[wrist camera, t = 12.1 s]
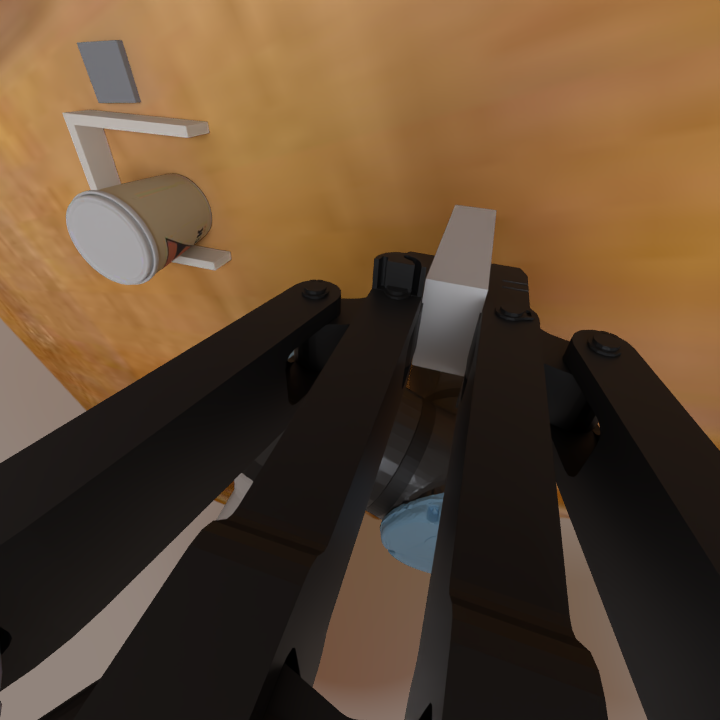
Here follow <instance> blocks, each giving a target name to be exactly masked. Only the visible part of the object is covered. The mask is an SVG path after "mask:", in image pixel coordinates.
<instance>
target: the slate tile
mask: <svg viewBox="0 0 720 720" xmlns="http://www.w3.org/2000/svg"><path fill="white" fill-rule="evenodd" d="M77 45H78V48H79V50H80V53H81V56H82V58H83V61H84V64H85V67H86V69H87V72H88V75H89V77H90V80H91V83H92V86H93V88H94V91H95V94H96V97H97V99H98V102H99V103H137V102H141V100H140V97H139V94H138V91H137V87H136V84H135V81H134V78H133V74H132V71H131V68H130V65H129V61H128V58H127V55H126V52H125V48H124V45H123V42H122V40H112V41H96V42H81V43H77Z"/></svg>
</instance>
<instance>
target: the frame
mask: <svg viewBox="0 0 720 720" xmlns="http://www.w3.org/2000/svg"><path fill="white" fill-rule="evenodd" d="M63 116H64V118H65V121H66V124H67V127H68V129H69V132H70V135H71V137H72V140H73V143H74V146H75V148H76V151H77V154H78V156H79V159H80V162H81V164H82V167H83V170H84V173H85V175H86V178H87V181H88V183H89V186H90V189H91V190H99V189H103V188H107V187H111V186H116V185H120V184H121V182H120V179H119V176H118V173H117V170H116V167H115V164H114V160H113V157H112V154H111V151H110V148H109V145H108V142H107V139H106V136H105V132H104V129H103V128H106V129H115V130H124V131H133V132H142V133H150V134H159V135H168V136H177V137H186V138H190V137H194V136H198V135H203V134H207V133H209V127H208V122H205V121H195V120H185V119H175V118H165V117H156V116H146V115H136V114H126V113H117V112H107V111H97V110H84V111H75V112H66V113H63ZM230 260H231V254H230V252H229V251H223V250H217V249H212V248H206V247H201V246H195V245H193V246H191V247H190V248H189V249H188V250H186V251H185V252H184V253H182V254H181V255H180V256H178V257H177V258H176V259H175V260H173V261H172V262H174V263H179V264H185V265H190V266H195V267H200V268H205V269H210V270H217V269H218V268H220V267H221V266H223V265H224V264H225V263H227V262H228V261H230Z"/></svg>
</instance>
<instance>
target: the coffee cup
mask: <svg viewBox="0 0 720 720" xmlns="http://www.w3.org/2000/svg"><path fill="white" fill-rule="evenodd" d="M66 223H67V228H68V231H69V234H70V237H71V239H72V241H73V243H74V245H75V247H76V248H77V250H78V251H79V253H80V254H81V255H82V257H83V258H84V259H85V260H86V261H87V262H88V263H89V264H90V265H91V266H92V267H93V268H94V269H95V270H96V271H98V272H99V273H100V274H102V275H103V276H105V277H106V278H108V279H110V280H112V281H114V282H117V283H121V284H126V285H132V284H135V285H136V284H142V283H145V282H147V281H148V280H150V279H151V278H152V277H153V276H154V275H155V274H156V273H157V272H158V271H160V270H161V269H163V268H164V267H165V266H167V265H168V264H169V263H171V262H172V261H173V260H175V259H176V258H177V257H178V256H180V255H181V254H182V253H184V252H185V251H186V250H188V249H189V248H190V247H191V246H193V245H194V244H195V243H197V242H198V241H199V240H200V239H202V238H203V237H204V236H205V235H206V234H207V233H208V231H209V229H210V227H211V223H212V214H211V209H210V206H209V203H208V201H207V199H206V197H205V196H204V194H203V193H202V191H201V190H200V189H199V188H198V186H196V185H195V184H194V183H193V182H192V181H191V180H189V179H187V178H186V177H184V176H181V175H178V174H165V175H160V176H155V177H151V178H146V179H142V180H137V181H133V182H128V183H124V184H120V185H116V186H111V187H107V188H103V189H99V190H89V191H85V192H82V193H80V194H78V195H77V196H75V198H74V199H73V200H72V202H71V203H70V205H69V206H68V209H67V213H66Z"/></svg>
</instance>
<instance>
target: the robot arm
mask: <svg viewBox="0 0 720 720" xmlns="http://www.w3.org/2000/svg"><path fill="white" fill-rule="evenodd" d="M495 219H496V210H490V209H483V208H475V207H468V206H460V205H455V207H454V210H453V212H452V215H451V217H450V220H449V222H448V225H447V227H446V230H445V232H444V235H443V237H442V240H441V242H440V245H439V247H438V250H437V252H436V255H435V256H434V255H428V254H422V253H415V252H408V253H400V252H391V253H384V254H381V255H378V256H377V257H376V258H374V271H373V285H372V290H371V291H370V293H369V294H368V296H367V297H366V298H360V299H341V290H340V289H339V287H338V286H337V285H335V284H332V283H330V282H326V281H323V280H310V281H305V282H301V283H299V284H296V285H294V286H293V287H291V288H289V289H288V290H286V291H284V292H283V293H281V294H279V295H278V296H276V297H274V298H273V299H271V300H269V301H268V302H266V303H264V304H263V305H261V306H260V307H258V308H256V309H255V310H253V311H251V312H250V313H248V314H246V315H245V316H243V317H241V318H240V319H238V320H236V321H235V322H233V323H231V324H230V325H228V326H226V327H225V328H223V329H222V330H220V331H218V332H217V333H215V334H213V335H212V336H210V337H208V338H207V339H205V340H203V341H202V342H200V343H198V344H197V345H195V346H193V347H192V348H190V349H188V350H187V351H185V352H183V353H182V354H180V355H179V356H177V357H175V358H174V359H172V360H170V361H169V362H167V363H165V364H164V365H162V366H160V367H159V368H157V369H155V370H154V371H152V372H150V373H149V374H147V375H145V376H144V377H142V378H141V379H139V380H137V381H136V382H134V383H132V384H131V385H129V386H127V387H126V388H124V389H122V390H121V391H119V392H117V393H116V394H114V395H112V396H111V397H109V398H107V399H106V400H104V401H102V402H101V403H99V404H98V405H96V406H94V407H93V408H91V409H89V410H88V411H86V412H84V413H83V414H81V415H79V416H78V417H76V418H74V419H73V420H71V421H69V422H68V423H66V424H64V425H63V426H61V427H60V428H58V429H56V430H55V431H53V432H52V433H50V434H48V435H46V436H45V437H43V438H41V439H40V440H38V441H36V442H35V443H33V444H32V445H30V446H28V447H27V448H25V449H23V450H22V451H20V452H19V453H17V454H15V455H13V456H12V457H10V458H8V459H7V460H5V461H3V462H2V463H0V691H2V690H3V689H5V688H6V687H7V686H9V685H10V684H12V683H13V682H15V681H16V680H18V679H19V678H20V677H22V676H23V675H25V674H26V673H28V672H29V671H31V670H32V669H33V668H35V667H36V666H37V665H39V664H40V663H41V662H42V661H44V660H45V659H46V658H47V657H49V656H50V655H51V654H52V653H54V652H55V651H56V650H57V649H59V648H60V647H61V646H62V645H64V644H65V643H66V642H67V641H69V640H70V639H71V638H72V637H73V636H75V635H76V634H77V633H78V632H79V631H80V630H81V629H82V628H83V627H84V626H85V625H86V624H87V623H89V622H90V621H91V620H92V619H93V618H94V617H95V616H96V615H97V614H98V613H100V612H101V611H102V610H103V609H104V608H105V607H106V606H107V605H108V604H109V603H110V602H111V601H112V600H113V599H114V598H115V597H116V596H117V595H118V594H119V593H120V592H121V591H122V590H123V589H124V588H125V587H126V586H127V585H128V584H129V583H130V582H131V581H132V580H133V579H134V578H135V577H136V576H137V575H138V574H139V573H140V572H141V571H142V570H143V569H144V568H145V567H146V566H147V565H148V564H149V563H151V561H153V560H154V558H156V556H158V555H159V553H161V552H162V551H163V550H164V549H165V548H166V547H167V546H168V545H169V544H170V543H171V542H172V541H173V540H174V539H175V538H176V537H177V536H178V535H179V534H180V533H181V532H182V531H183V530H184V529H185V528H186V527H187V526H188V525H189V524H190V523H191V522H192V521H193V520H194V519H195V518H196V517H197V516H198V515H199V514H200V513H201V512H202V511H203V510H204V509H205V508H206V507H207V506H208V505H209V504H210V503H211V502H212V501H213V500H214V499H215V498H216V497H217V496H218V495H219V494H220V493H221V492H222V491H223V490H224V489H225V488H227V487H228V486H229V485H230V484H231V483H232V482H233V481H234V482H235V489H234V491H233V493H232V494H231V496H230V498H229V499H228V501H227V503H226V504H225V506H224V508H223V510H222V511H221V513H220V515H219V516H218V518H217V520H216V521H212V522H211V523H210V524H208V525H207V526H206V527H205V528H203V529H202V530H201V532H200V533H199V534H198V535H197V536H196V538H195V539H194V540H193V542H192V543H191V544H190V545H189V547H188V548H187V550H186V551H185V553H184V554H183V556H182V557H181V559H180V560H179V562H178V563H177V565H176V566H175V568H174V569H173V571H172V572H171V574H170V575H169V577H168V578H167V580H166V581H165V583H164V584H163V586H162V587H161V589H160V590H159V592H158V593H157V595H156V596H155V598H154V599H153V601H152V602H151V604H150V605H149V607H148V608H147V610H146V611H145V613H144V614H143V616H142V617H141V619H140V620H139V622H138V624H137V625H136V626H135V628H134V629H133V631H132V632H131V634H130V635H129V637H128V638H127V640H126V641H125V643H124V644H123V646H122V647H121V649H120V650H119V652H118V653H117V655H116V656H115V658H114V659H113V661H112V662H111V664H110V665H109V667H108V668H107V670H106V671H105V673H104V674H103V676H102V677H101V678H100V679H99V680H97V681H95V682H94V683H92V684H91V685H89V686H88V687H86V688H85V689H83V690H82V691H81V692H79V693H77V694H76V695H74V696H73V697H71V698H70V699H68V700H67V701H65V702H64V703H62V704H61V705H59V706H58V707H56V708H55V709H53V710H52V711H50V712H49V713H47V714H46V715H44V716H43V717H41V718H40V719H38V720H356V719H351V718H349V717H347V716H345V715H344V714H342V713H341V712H339V710H337V709H336V708H335V707H334V706H333V705H332V704H331V703H329V702H328V701H327V700H326V699H325V698H324V697H323V696H321V695H320V694H319V693H318V692H317V691H316V690H315V689H314V688H312V687H313V684H314V680H315V677H316V674H317V670H318V667H319V663H320V659H321V656H322V651H323V647H324V642H325V638H326V632H327V629H328V625H329V622H330V618H331V615H332V612H333V609H334V606H335V603H336V599H337V597H338V594H339V591H340V587H341V584H342V581H343V578H344V575H345V572H346V569H347V566H348V563H349V560H350V557H351V554H352V550H353V547H354V544H355V541H356V538H357V535H358V532H359V529H360V526H361V523H362V520H363V516H364V513H365V510H366V511H368V512H370V513H371V514H373V515H375V516H377V517H378V518H380V519H382V522H381V525H380V531H381V540H382V543H383V545H384V547H385V548H386V549H388V551H389V553H390V554H391V555H392V556H393V557H394V558H396V559H397V560H399V561H400V562H402V563H404V564H406V565H408V566H410V567H413V568H415V569H418V570H421V571H424V572H427V573H431V577H430V584H429V590H428V596H427V603H426V609H425V615H424V621H423V627H422V633H421V639H420V646H419V652H418V657H417V662H416V667H415V672H414V676H413V680H412V684H411V688H410V693H409V698H408V703H407V708H406V714H405V719H404V720H608V716H607V710H606V702H605V697H604V692H603V687H602V683H601V678H600V674H599V670H598V668H597V666H596V664H595V661H594V659H593V657H592V655H591V652H590V651H589V650H587V648H585V647H584V646H583V645H582V644H581V643H580V642H579V641H578V640H577V639H576V638H575V635H574V633H573V631H572V627H571V622H570V615H569V606H568V596H567V586H566V576H565V566H564V557H563V548H562V537H561V527H560V517H559V508H558V498H557V488H556V483H557V486H558V488H559V491H560V493H561V496H562V499H563V501H564V504H565V506H566V509H567V512H568V514H569V517H570V519H571V522H572V524H573V527H574V530H575V532H576V535H577V538H578V540H579V543H580V545H581V548H582V550H583V553H584V556H585V558H586V561H587V563H588V566H589V568H590V571H591V574H592V576H593V579H594V582H595V584H596V587H597V589H598V592H599V595H600V597H601V600H602V602H603V605H604V607H605V610H606V612H607V615H608V618H609V620H610V623H611V625H612V628H613V631H614V633H615V636H616V639H617V641H618V643H619V646H620V649H621V652H622V654H623V657H624V659H625V662H626V665H627V667H628V670H629V672H630V675H631V678H632V680H633V683H634V685H635V688H636V691H637V693H638V696H639V698H640V701H641V703H642V706H643V708H644V711H645V714H646V716H647V719H648V720H720V451H719V450H718V448H717V447H716V446H715V445H714V444H713V442H712V441H711V440H710V439H709V437H708V436H707V435H706V434H705V433H704V431H703V430H702V429H701V428H700V427H699V425H698V424H697V423H696V422H695V421H694V419H693V418H692V417H691V416H690V415H689V413H688V412H687V411H686V410H685V409H684V407H683V406H682V405H681V404H680V403H679V401H678V400H677V399H676V398H675V397H674V395H673V394H672V393H671V392H670V391H669V389H668V388H667V387H666V386H665V385H664V383H663V382H662V381H661V380H660V379H659V377H658V376H657V375H656V374H655V373H654V371H653V370H652V369H651V368H650V367H649V365H648V364H647V363H646V362H645V361H644V359H643V358H642V357H641V356H640V355H639V353H638V352H637V351H636V350H635V349H634V348H633V347H632V346H631V345H630V344H629V343H628V342H626V341H624V340H622V339H621V338H619V337H618V336H616V335H614V334H611V333H610V334H609V332H605V331H596V330H581V331H578V332H576V333H574V335H573V337H572V338H571V341H570V342H569V341H567V340H564V339H561V338H558V337H556V336H553V335H551V334H549V333H547V332H545V331H543V330H542V329H540V322H539V318H538V315H537V313H535V312H534V311H533V310H532V309H531V308H530V303H529V292H528V291H529V289H528V276H527V275H526V274H525V273H524V272H523V271H522V270H521V269H520V268H516V267H510V266H503V265H497V264H491V257H492V248H493V238H494V229H495ZM412 358H413V360H412ZM411 361H412V365H413V367H412V370H411V374H410V389H408V388H406V384H407V381H408V378H409V373H410V367H411ZM598 422H599V425H600V428H599V426H598ZM1 707H2V703H1V701H0V715H1Z"/></svg>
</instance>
